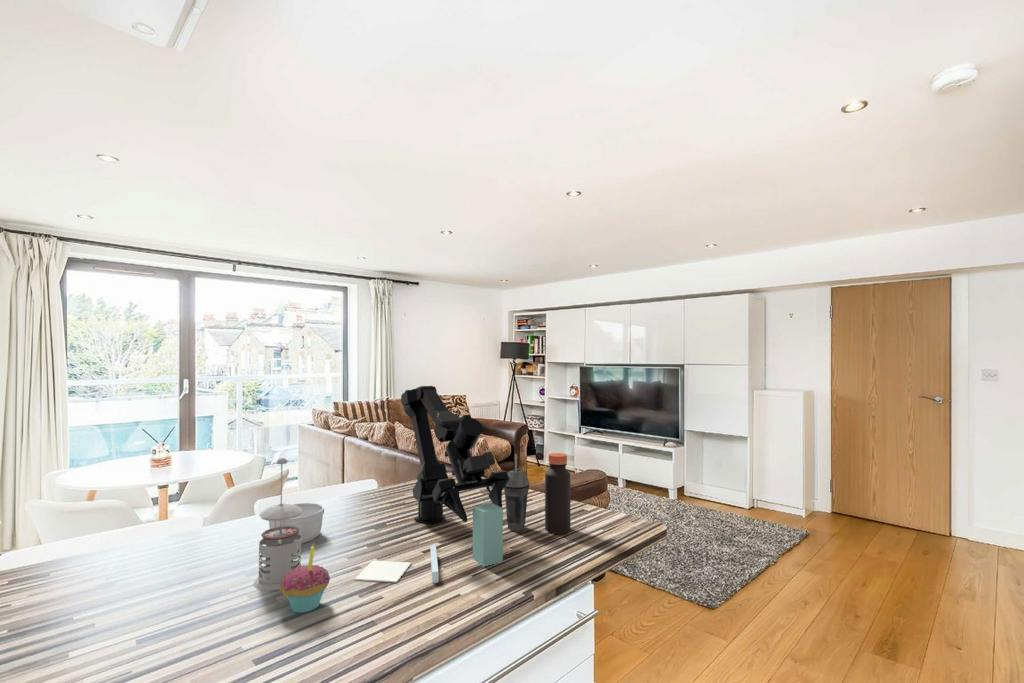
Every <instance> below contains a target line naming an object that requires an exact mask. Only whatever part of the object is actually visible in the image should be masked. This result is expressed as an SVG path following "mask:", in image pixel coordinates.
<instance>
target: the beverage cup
mask: <svg viewBox="0 0 1024 683" xmlns="http://www.w3.org/2000/svg"><path fill="white" fill-rule="evenodd" d="M507 473H508V475H509V477H510V480H509V481H508V483H507V484H506V486H505V487H504V489H503V492H504V500H505V512H506V521H507V522H506V523H507V529H508V530H509V529H510V530H509V531H511V530H516V531H515V532H519V531H518V530H522V531H524V530H525V525H526V520H527V518H526V516H527V508H528V506H527V505H528V494H529V492H530V486H531V485H530V480H529V477H528V476H527V474H526V473H525V472H524V471H522V470H521V469H518V454H517V453H515V454H514V469H512V470H510V471H508V472H507ZM523 529H524V530H523Z"/></svg>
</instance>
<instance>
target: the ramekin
mask: <svg viewBox="0 0 1024 683" xmlns="http://www.w3.org/2000/svg"><path fill="white" fill-rule="evenodd" d="M290 504H291V503H290ZM291 505H296V506H298V507H300V508H301V509H302V512H301V514H300V515H298V516H296V517H294V518H290V519H286V520H285V522H284V527H285V526H294V527H297V528H299V529H300V530H299V532H298V534H299V535H300V536H301V544H305V543H308V542H311V541H313V540H315V539H316V538H317V537H318V536H319V535H320V533H321V531H322V528H323V519H324V518H323V517H324V514H325V506H324V505H322V504H320V503H315V502H301V503H292V504H291ZM268 525H269V529H271V528H275V521H268ZM281 526H282V527H283V520H281ZM276 527H280V521H276ZM298 540H299V539H296V540H294V542H296V541H298ZM278 546H282V539H281V540H278Z"/></svg>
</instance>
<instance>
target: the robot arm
mask: <svg viewBox="0 0 1024 683" xmlns="http://www.w3.org/2000/svg"><path fill="white" fill-rule="evenodd" d="M436 387H437V386H433V385H420V386H418V387H416V388H412V389H406V390H404V392H402V394H401V396H400V401H401V405H402V406H403V411H404V413H405V414H406V415H407V416H408V418H410V420H411V422H412V427H413V433H414V436H415V437H414V439H415V443H416V448H417V453H418V457H419V458H418V459H419V463H420V467H419V470H418V472H417V474H416V480H417V481H416V483H415V485H414V486H413V489H412V496H413V497H412V498H413V499H414V500H416V501H418V502H417V503H418V505H417V506H418V511H417V512H418V514H417V516H416V517H414V518H413V520H414V521H416V522H421V523H424V524H427V525H431V524H435V523H438V522H439V521H442V520H445V519H446V518H447V517H446V515H444V506H445V507H447V508H448V509H449V510H450V511H452V512H453V513H454V514H455V515H456V516H457V517H458V518H459V519H460V520H461V521H462V522H464V523H467V521H468V516H467V513H466V510H465V507H464V505H463V502H462V500H461V497H460V492H463V491H471V490H477V489H481V488H485V489H486V490H487V492H488V497H489V499H490V501H491V503H493V504H495V505H497V506H499V507H501V508H503V499H502V496H503V491H504V487H505V486H506V484H507V483H508V481H509V480H510V477H509V475H508V473H509V472H507V471H506V470H498V471H492V472H491V473H490V475H489V476H488V478H482V477H484V476H485V474H486V470H487V469H491V467H492V466H494V465H495V463H496V460H495V456H494V454H493V452H492V451H486V452H484V453H483V454H481V455H473V454H472V449H474V447H475V446H476V444H477V442H478V441H479V438H480V437H481V435H482V434H483V432H484V427H483V424H482V423H481V422H480V421H479V420H477V419H476V418H473V417H472V416H471V414H463V415H462V416H461V417H460V416H459V415H458V414H456V413H453V412H451V411H450V409H448V407H447V405H446V404H445V403H444V401H443V400H442V398H441V397H440V395H439V394H438V392H437V388H436ZM428 415H429V416H430V417H431V419H432V421H433V423H434V428H433V432H434V435H435V438H436V439H437V440H438V442H440V443H447V442H448V444H447V445H446V447H445V451H444V457H445V458H448V459H449V461H450V465H451V467H452V470H451V472H450V473H451V475H452V476H454V477H455V478H456V480H455V478H453V477H449V476H448V474H447V468H446V464H444V463H441V462H440V461H439V460H438V459H437V458H438V457H437V453H436V449H435V443H434V439H433V434H432V429H431V424H430V420H429V416H428ZM456 481H457V482H456Z"/></svg>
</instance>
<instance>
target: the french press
mask: <svg viewBox="0 0 1024 683" xmlns="http://www.w3.org/2000/svg"><path fill="white" fill-rule="evenodd" d="M287 463H288V461H287V458H285V457H279V458H278V459H277V462H276V464H277V465H281V466H280V503H278V504H274V505H271V506H269V507H266V508H265V509H264V510H262V511H261V512H260V513H259V515H258V516H259V517H260V518H261V519H262V520H264V521H267V522H269V521H275V528H271V529H270V528H269V529H266V530H264V531H263V532H262V533H261V537H262V539H260V540H259V542H258V545H259V546H258V551H259V552H258V576H257V577H256V579H255V580H254V582H253V584H252V585H253V587H254V588H255V589H256V590H259V591H268V592H269V591H270V592H271V591H278V590H280V588H279V585H280V582H281V580H282V579H283V577H284V576H285V575H286V573H289V571H291V570H292V569H294V568H296V567H299V566H302V564H301V561H302V557H301V556H302V545H301V544H302V543H301V536H300V535H299V534H298V532H299V530H300V529H299V528H297V527H294V526H285V527H284V522H285V520H286V519H290V518H294V517H296V516H298V515H300V514H301V512H302V509H301V508H300V507H298V506H296V505H291V503H283V502H282V501H283V465H286V464H287ZM281 520H283V527H282V526H281ZM276 521H280V527H276ZM281 539H282V545H279V544H278V540H281ZM296 539H299V540H298V541H296V542H294V540H296ZM296 553H297V554H296ZM263 558H264V559H263ZM262 564H263V565H264V566H263V565H262Z"/></svg>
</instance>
